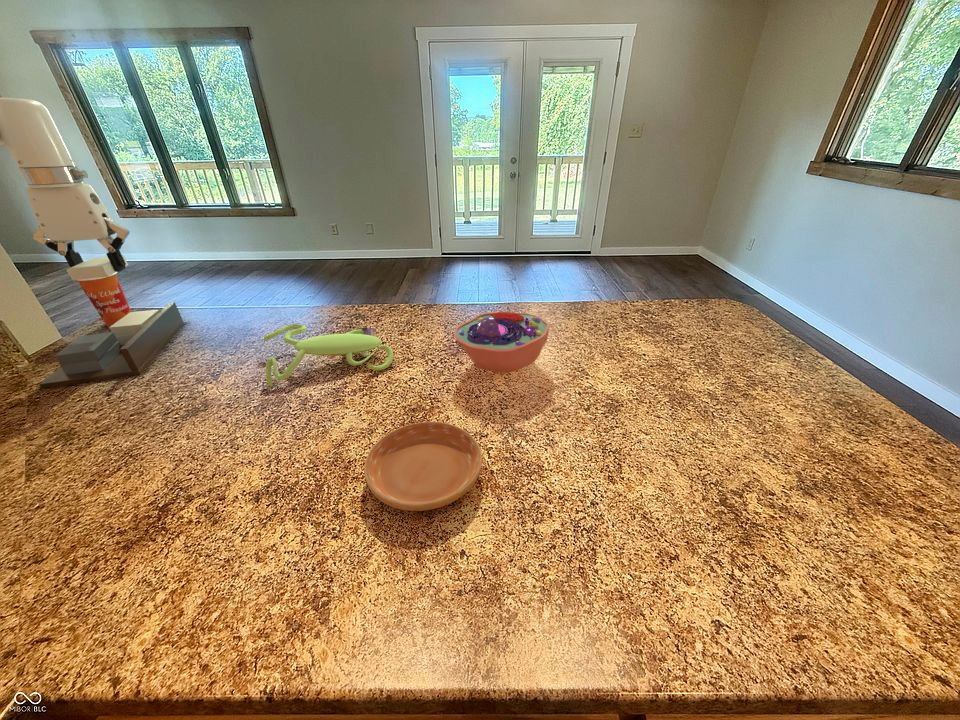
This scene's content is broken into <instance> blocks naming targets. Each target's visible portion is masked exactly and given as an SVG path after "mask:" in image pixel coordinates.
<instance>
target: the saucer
mask: <svg viewBox="0 0 960 720" xmlns="http://www.w3.org/2000/svg"><path fill="white" fill-rule="evenodd" d="M482 465H483V453H482V449H481V447H480V444H479V442H478V441H477V440H476V439H475V438H474V436H473V435H472V434H471V433H469V432H468V431H466V430H465V429H463V428H461V427H459V426H457V425H455V424H452V423H448V422H442V421H420V422H413V423H410V424H406V425H403V426H401V427H398V428H396V429H393V430H392V431H390V432H388V433H386V434H385V435H384V436H383V437H381V438H380V439H379V440H377V442H376V443H374V445H373V446H372V447H371V449H370V451H369V452H368V453H367V455H366V459H365V461H364V465H363V466H364V467H363V468H364V469H363V474H364V479H365V482H366V484H367V487H368V489H369V490H370V492H371V494H372V495H373V496H374V497H375V498H376V499H378V500H379V501H380V502H382V503H383V504H384V505H386V506H389V507H391V508H394V509H398V510H402V511H410V512H423V511H424V512H425V511H430V510H434V509H438V508H442V507H445V506H448V505H449V504H452V503H454V502H455V501H457V500H459V499H460V498H461V497H463V496H464V495H465V494H466V493H467V492H469V491H470V490H471V488H473V486H474V485H475V484H476V482H477V480H478V479H479V476H480V473H481V470H482Z"/></svg>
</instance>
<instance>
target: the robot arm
mask: <svg viewBox="0 0 960 720" xmlns="http://www.w3.org/2000/svg"><path fill="white" fill-rule="evenodd" d="M1 146H6V148H7V150H8V152H9V153H10V156H11V157H12V159H13V161H14V163H15V164H16V166H17V168H18V169H19V172H20V173H21V175H22V177H23V179H24V181H25V183H26V184H27V186H26V187H25V191H26V195H27V199H28V202H29V206H30V207H31V210H32V212H33V215H34V217H35V219H36V221H37V223H38V227H37V228H36V230H35V232H34V234H33V236H32V239H33V240H34V241H36V242H38V243H39V244H41V245H43V246H46V247H47V248H49V249H50V250H53V251H54V252H56V253H58V255H59V256H60V257H61V256H62V257H64V260H65V261H66V262H67V264H68V266H69V268H71V267H74V266H76V265H78V264H80V263H82V262H84V261H85V260H84V259H83V258H82V256H81V254H80V253H79V251H75V243H74V242H77V241H92V240H95V241H97V242H98V243H99V244H101V246H103V248H105V249H106V251H107V252H106V257H108V259H109V261H110V263H111V265H112V266H113V268H114V270H115V271H116V272H117V273H120V272H122V271H123V270H125V269H126V267H127V266H126V267H125V265H126V263H125V261H124V259H123V257H122V255H123V254H122V253H121V251H120V250H121V249H122V246H123V245H124V243H125V242H126V240H127V238H128V237H129V235H130V233H131V231H130V230H129V229H128V228H126V227H124V226H122V225H121V224H119V223H117V222H115V221H114V220H113V218H112V216H111V215H110V213H109V211H108V209H107V208H106V206H105V204H104V203H103V201H102V200H101V198H100V196H99V195H98V194H97V192H96V190H95V189H94V188H93V187H92V185H91V184H90V183H84V179H86V178H88V177H89V175H88V173H87V171H86V170H84V169H78V166H76V165H75V163H74V160H73V159H72V157H71V155H70V152H69V150H68V149H67V146H66V144H65V142H64V141H63V138H62V136H61V134H60V132H59V130H58V127H57V126H56V123H55V122H54V119H53V118H52V116H51V114H50V111H49V110H48V108H47V107H46V106H45V105H44V104H42V103H41V102H39V101H38V100H34V99H30V98H21V97H0V147H1ZM115 234H116V236H115V238H113V235H115Z"/></svg>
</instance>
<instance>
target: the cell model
mask: <svg viewBox="0 0 960 720" xmlns="http://www.w3.org/2000/svg"><path fill="white" fill-rule="evenodd" d="M549 331H550V324H549V322H547V321H546V320H545V319H543V317H540V316H538V315H534V314H530V313H522V312H521V313H519V312H514V311H505V310H504V311H489V312H483V313H479V314H477V315H475V316H474V317H472V318H470V319H469V320H467V321H464V322H462V323H460V324H459V325H458V326H457V327H456V328H455V329H454V331H453V337H454V339H455V340H456V342H457V343H458V345H459V346H460V348H462V350H463V351H464V353H465V354H466V355H467V356H468V358H469V359H470V360H471V361H472V362H473V364H474V366H475V367H476V368H477V369H479V370H484V371H491V372H496V373H503V374H504V373H505V374H509V373H514V372H517V371H519V370H521V369H523V368H526V367H528V366H530V365H532V364H533V363H534V362H536V361H537V360H538V358H539V356H540V355H541V352H542V350H543V348H544V346H545V345H546V343H547V341H548V338H549Z"/></svg>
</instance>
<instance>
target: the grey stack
mask: <svg viewBox="0 0 960 720" xmlns="http://www.w3.org/2000/svg"><path fill="white" fill-rule="evenodd" d="M121 348H122V346H121V344H120V342H119V341H118V340H117V338H116V337H115V335H114V333H113V332H109V333H104V332H101V333H94V334H85V335H78V336H77V337H75V339H73V340H72V341H71V342H70V343H69V344H67V345H66V346H65V347H64V348H62V349H61V350H60V351H58V352H57V353H56V354H55V355H54V357H55V359H56V360H57V362H58V364H59V366H60V367H61V368H62V369H63V371H64V372H65V374H66V375H69V374H76V373H84V372H91V371H99V370H103V369H104V368H105V367H106V366H107V365H108V364H109V363H110V362H111V361H113V360H114V359H115V358H116V357H117V356H118V355H119V354H120V353H121V351H120V349H121Z"/></svg>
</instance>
